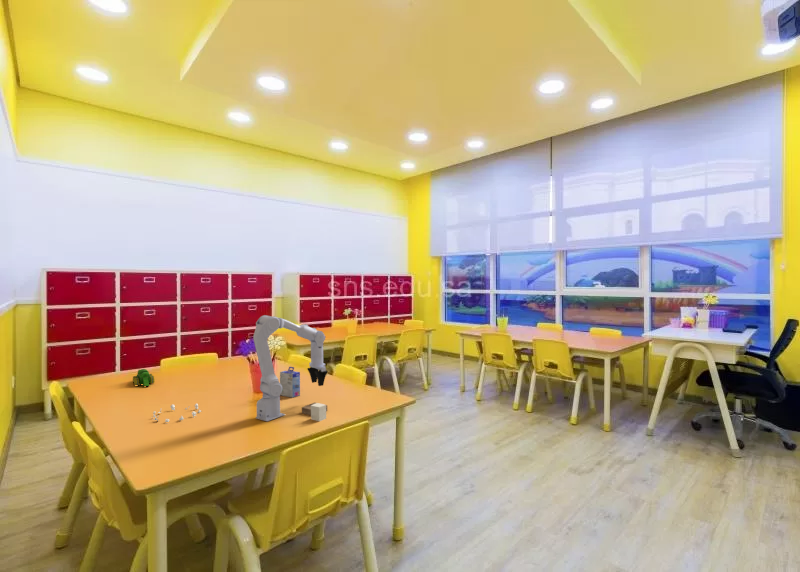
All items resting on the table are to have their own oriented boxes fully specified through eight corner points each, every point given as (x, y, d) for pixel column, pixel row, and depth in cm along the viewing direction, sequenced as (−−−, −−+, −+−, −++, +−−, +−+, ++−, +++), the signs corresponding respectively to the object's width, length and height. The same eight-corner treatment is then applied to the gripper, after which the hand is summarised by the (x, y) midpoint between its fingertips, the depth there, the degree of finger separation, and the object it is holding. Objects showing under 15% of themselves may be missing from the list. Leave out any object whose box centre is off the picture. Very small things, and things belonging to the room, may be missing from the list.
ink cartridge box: (301, 395, 204) (300, 367, 203) (292, 398, 199) (292, 369, 199) (287, 392, 209) (287, 365, 209) (279, 395, 204) (278, 367, 204)
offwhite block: (319, 421, 165) (319, 407, 165) (311, 419, 168) (310, 405, 168) (326, 418, 169) (325, 404, 169) (317, 416, 171) (317, 402, 171)
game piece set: (155, 413, 181) (154, 404, 181) (203, 406, 189) (203, 398, 188) (146, 427, 163) (146, 418, 163) (200, 419, 171) (200, 411, 171)
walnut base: (314, 417, 172) (314, 410, 172) (301, 413, 176) (301, 407, 176) (327, 411, 178) (327, 405, 178) (314, 408, 183) (314, 402, 183)
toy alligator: (147, 376, 251) (147, 362, 251) (156, 386, 227) (156, 371, 226) (129, 379, 245) (129, 365, 245) (136, 389, 220) (136, 374, 220)
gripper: (331, 356, 184) (331, 385, 184) (318, 352, 196) (319, 379, 196) (317, 358, 180) (317, 388, 180) (305, 354, 192) (305, 381, 192)
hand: (317, 383), depth 188 cm, fingers open, 7 cm apart
